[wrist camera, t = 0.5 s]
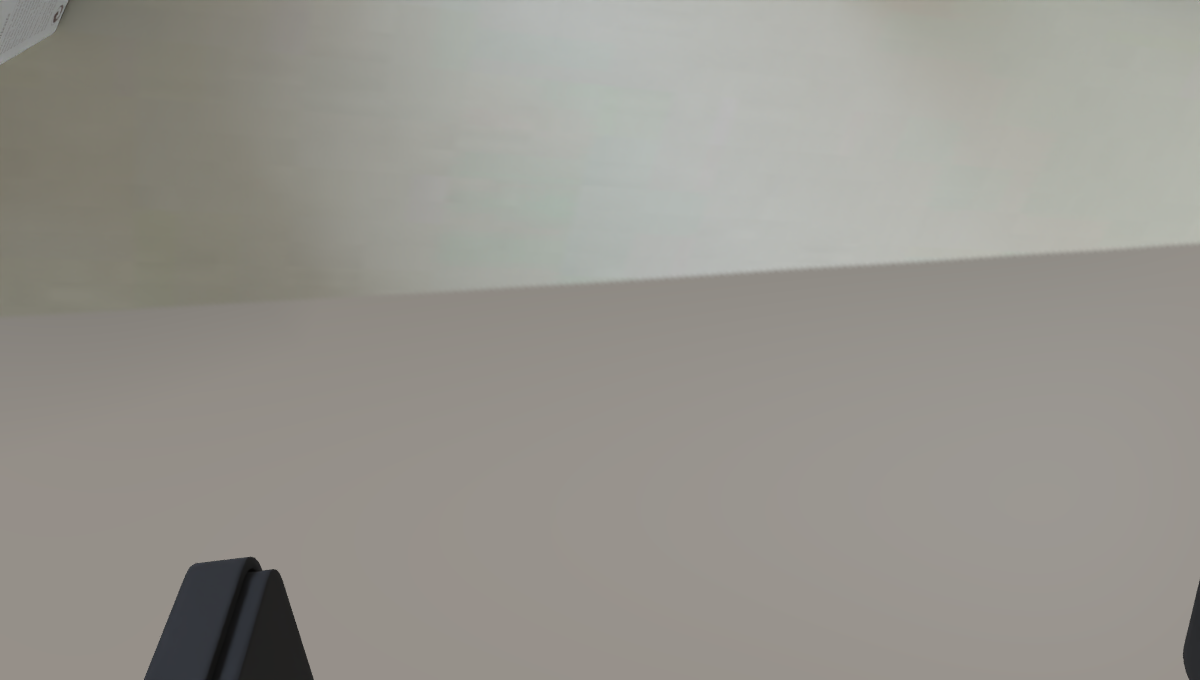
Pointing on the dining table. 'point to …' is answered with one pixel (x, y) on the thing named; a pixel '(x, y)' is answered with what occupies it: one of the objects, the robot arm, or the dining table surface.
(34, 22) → the cosmetic box
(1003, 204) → the dining table surface
